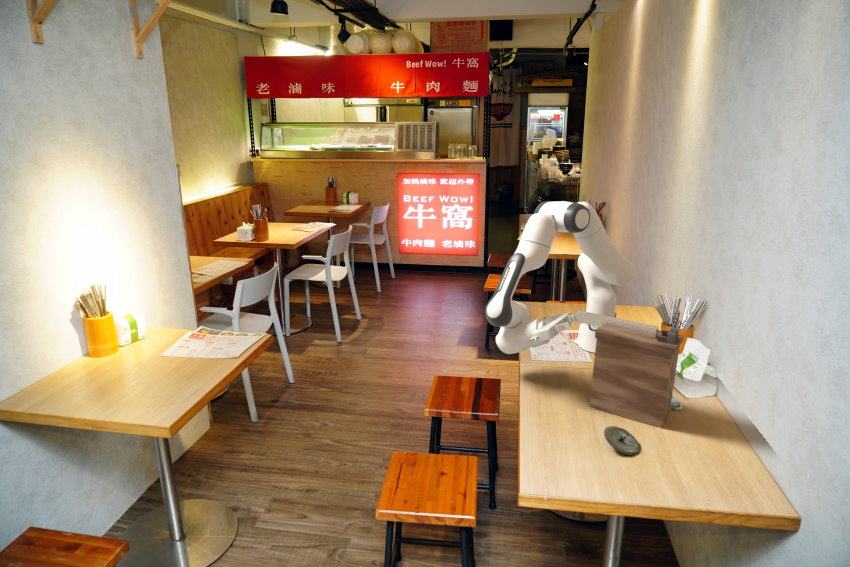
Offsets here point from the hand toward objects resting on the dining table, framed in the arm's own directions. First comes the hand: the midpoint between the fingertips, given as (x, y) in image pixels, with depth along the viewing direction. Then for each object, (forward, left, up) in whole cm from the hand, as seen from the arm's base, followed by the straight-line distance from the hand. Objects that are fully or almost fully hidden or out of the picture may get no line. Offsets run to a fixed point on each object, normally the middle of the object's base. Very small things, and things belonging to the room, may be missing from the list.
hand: (574, 320), depth 188 cm
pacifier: (-11, +31, -26) cm, 42 cm away
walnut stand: (0, +20, -26) cm, 33 cm away
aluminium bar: (0, +13, 0) cm, 13 cm away
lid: (+23, +24, -26) cm, 43 cm away
